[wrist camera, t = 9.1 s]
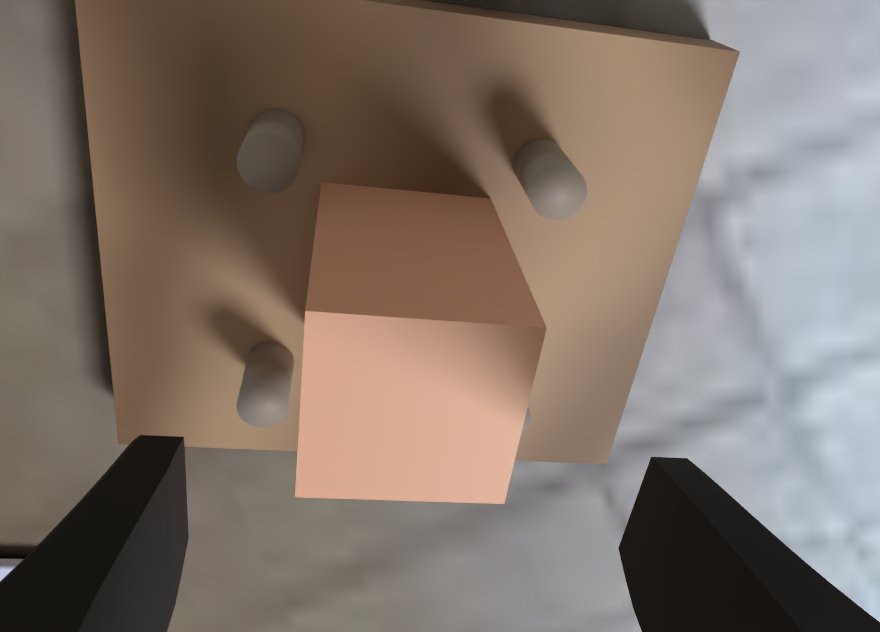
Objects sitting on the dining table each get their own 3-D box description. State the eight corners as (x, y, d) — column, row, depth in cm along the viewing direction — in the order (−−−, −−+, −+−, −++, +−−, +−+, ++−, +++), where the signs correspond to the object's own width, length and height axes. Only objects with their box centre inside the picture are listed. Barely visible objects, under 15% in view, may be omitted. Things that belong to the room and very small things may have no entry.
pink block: (312, 330, 19) (295, 497, 14) (321, 181, 17) (305, 310, 12) (465, 340, 19) (504, 504, 14) (490, 198, 17) (547, 328, 12)
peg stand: (133, 410, 21) (95, 495, 18) (94, -46, 15) (31, -31, 12) (592, 432, 23) (627, 512, 20) (711, 39, 18) (784, 70, 15)
